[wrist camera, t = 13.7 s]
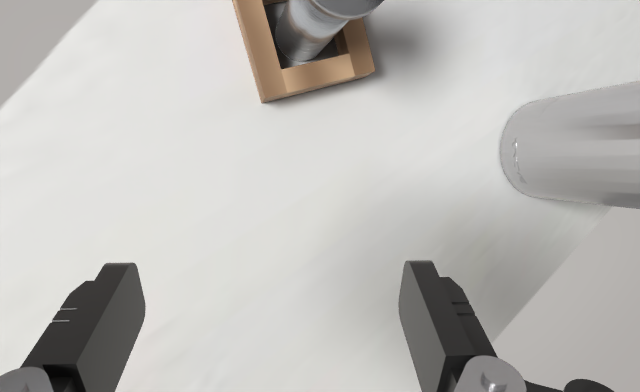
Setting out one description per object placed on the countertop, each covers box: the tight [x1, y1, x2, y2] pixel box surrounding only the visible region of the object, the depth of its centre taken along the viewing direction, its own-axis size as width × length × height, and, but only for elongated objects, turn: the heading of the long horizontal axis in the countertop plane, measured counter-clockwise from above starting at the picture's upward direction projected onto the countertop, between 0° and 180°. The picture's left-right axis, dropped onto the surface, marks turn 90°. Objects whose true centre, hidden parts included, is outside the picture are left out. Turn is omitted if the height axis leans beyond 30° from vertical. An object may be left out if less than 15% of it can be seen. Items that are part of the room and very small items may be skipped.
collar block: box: [232, 0, 375, 103], centre depth 33 cm, size 9×9×2 cm
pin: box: [275, 0, 384, 61], centre depth 28 cm, size 5×5×13 cm
